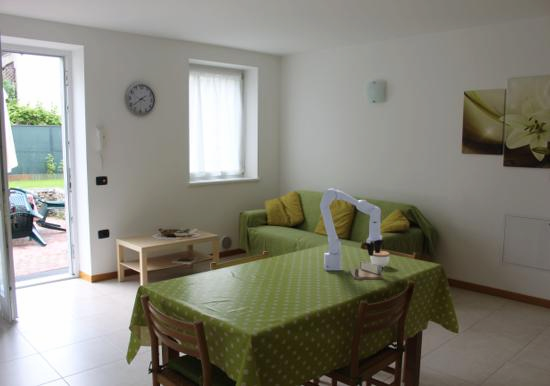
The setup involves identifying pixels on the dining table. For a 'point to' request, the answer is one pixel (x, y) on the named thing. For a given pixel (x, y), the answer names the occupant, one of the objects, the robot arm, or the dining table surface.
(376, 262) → the lidded jar
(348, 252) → the dining table surface
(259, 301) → the dining table surface
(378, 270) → the white bar
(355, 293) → the dining table surface
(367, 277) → the board
